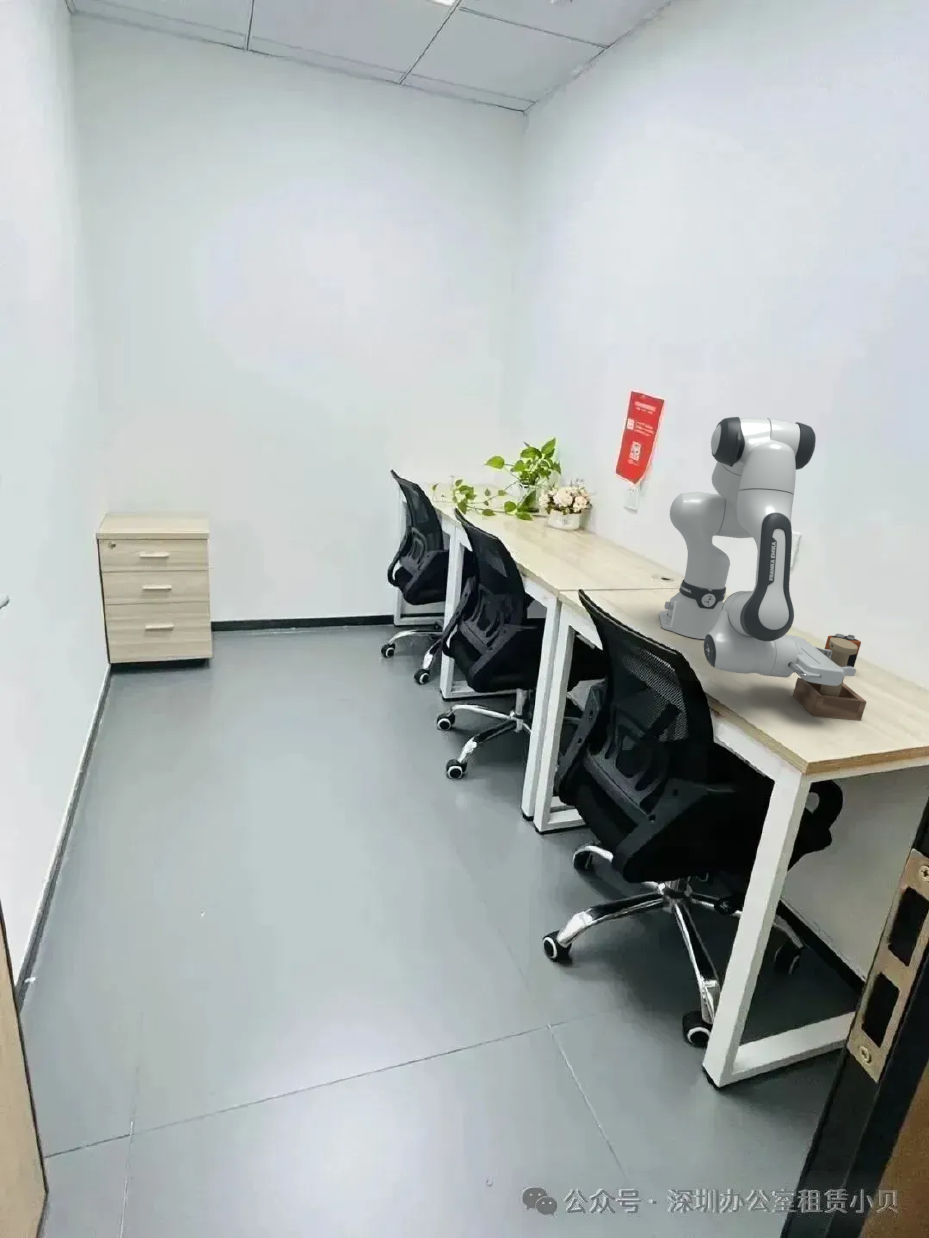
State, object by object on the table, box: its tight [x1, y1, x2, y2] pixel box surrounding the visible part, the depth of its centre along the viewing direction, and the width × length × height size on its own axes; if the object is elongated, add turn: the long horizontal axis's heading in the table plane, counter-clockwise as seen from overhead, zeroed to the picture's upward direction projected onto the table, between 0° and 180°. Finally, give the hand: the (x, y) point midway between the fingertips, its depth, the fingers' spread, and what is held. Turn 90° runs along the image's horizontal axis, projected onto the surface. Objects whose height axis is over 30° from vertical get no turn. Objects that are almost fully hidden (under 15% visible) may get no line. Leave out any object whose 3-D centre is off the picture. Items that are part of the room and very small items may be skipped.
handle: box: [820, 638, 858, 697], centre depth 152 cm, size 5×6×15 cm
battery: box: [824, 633, 862, 668], centre depth 176 cm, size 4×7×10 cm, turn 102°
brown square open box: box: [792, 677, 867, 721], centre depth 154 cm, size 10×10×4 cm
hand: (842, 662), depth 151 cm, fingers open, 8 cm apart
